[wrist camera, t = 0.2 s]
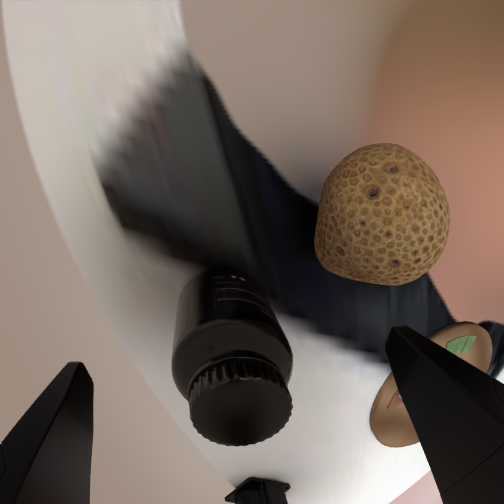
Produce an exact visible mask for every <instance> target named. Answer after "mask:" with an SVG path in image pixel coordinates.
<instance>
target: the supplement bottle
mask: <svg viewBox="0 0 504 504" xmlns="http://www.w3.org/2000/svg"><path fill="white" fill-rule="evenodd" d="M292 370H293V354H292V350H291V347H290V345H289V342H288V340H287V338H286V336H285V334H284V332H283V330H282V328H281V326H280V324H279V322H278V320H277V318H276V316H275V314H274V312H273V310H272V308H271V307H270V305H269V303H268V301H267V299H266V297H265V295H264V293H263V291H262V290H261V288H260V287H259V285H258V284H257V283H256V282H255V281H254V280H253V279H252V278H250V277H249V276H248V275H246V274H244V273H242V272H239V271H236V270H232V269H214V270H210V271H207V272H204V273H202V274H200V275H198V276H197V277H195V278H194V279H193V280H192V281H190V283H189V284H188V285H187V286H186V287H185V289H184V290H183V292H182V294H181V297H180V300H179V304H178V309H177V317H176V325H175V334H174V342H173V352H172V376H173V379H174V382H175V384H176V387H177V388H178V390H179V392H180V393H181V394H182V396H183V397H184V398H185V399H186V400H187V401H188V402H189V407H190V419H191V421H192V422H193V426H194V427H195V428H196V429H197V432H198V433H200V434H202V436H203V437H204V438H207V439H209V440H210V441H212V442H216V443H217V444H224V445H226V446H246V445H249V444H256V443H258V442H261V441H264V440H266V439H267V438H270V437H272V436H273V435H274V434H276V433H278V432H279V431H280V429H282V428H283V427H284V426H285V424H286V423H287V422H288V421H289V417H290V416H291V410H292V408H293V405H292V397H291V395H290V393H289V390H288V386H287V385H288V383H289V380H290V378H291V375H292Z"/></svg>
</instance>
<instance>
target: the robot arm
mask: <svg viewBox="0 0 504 504" xmlns="http://www.w3.org/2000/svg"><path fill="white" fill-rule="evenodd" d="M385 353H386V356H387V359H388V362H389V365H390V368H391V370H392V374H393V377H394V380H395V383H396V386H397V389H398V391H399V394H400V396H401V399H402V401H403V403H404V405H405V408H406V410H407V412H408V415H409V417H410V419H411V422H412V424H413V426H414V429H415V431H416V433H417V436H418V438H419V441H420V443H421V446H422V448H423V451H424V453H425V456H426V458H427V461H428V463H429V466H430V468H431V471H432V473H433V476H434V479H435V482H436V484H437V487H438V490H439V492H440V496H441V499H442V501H443V504H504V384H503V383H501V382H500V381H498V380H496V379H495V378H491V376H490V375H488V374H486V373H485V372H483V371H481V370H480V369H478V368H477V367H475V366H473V365H472V364H470V363H468V362H467V361H465V360H463V359H462V358H460V357H458V356H457V355H455V354H453V353H452V352H450V351H448V350H447V349H445V348H443V347H442V346H440V345H438V344H437V343H435V342H433V341H432V340H430V339H428V338H427V337H425V336H423V335H422V334H420V333H418V332H417V331H415V330H413V329H412V328H410V327H408V326H406V325H398V326H394V327H392V329H391V330H390V333H389V336H388V339H387V341H386V344H385ZM93 392H94V385H93V381H92V378H91V377H90V375H89V373H88V371H87V369H86V367H85V366H84V364H83V363H82V362H69V363H67V364H66V366H65V367H64V368H63V369H62V370H61V371H60V372H59V374H58V375H57V376H56V377H55V378H54V379H53V380H52V382H51V383H50V384H49V385H48V386H47V387H46V389H45V390H44V391H43V392H42V393H41V395H40V396H39V397H38V398H37V399H36V400H35V401H34V403H33V404H32V405H31V406H30V408H29V409H28V410H27V411H26V412H25V414H24V415H23V416H22V417H21V419H20V420H19V421H18V422H17V423H16V425H15V426H14V427H13V428H12V430H11V431H10V432H9V434H8V435H7V436H6V437H5V438H4V440H3V441H2V444H0V504H90V474H91V457H92V444H93V394H94V393H93ZM288 489H290V485H289V484H284V483H278V482H272V481H267V480H261V479H256V478H249V479H247V480H246V481H245V482H244V483H242V484H241V485H240V486H239V487H237V488H236V489H235V490H234V491H233V492H231V493H230V494H229V495H227V496H226V497H225V501H227V502H232V503H235V504H288V503H287V499H286V496H285V492H286V491H287V490H288Z"/></svg>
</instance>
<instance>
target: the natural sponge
mask: <svg viewBox="0 0 504 504" xmlns="http://www.w3.org/2000/svg"><path fill="white" fill-rule="evenodd" d="M449 224H450V215H449V206H448V202H447V198H446V195H445V193H444V190H443V188H442V186H441V184H440V182H439V180H438V178H437V176H436V174H435V173H434V171H433V170H432V169H431V168H430V167H429V165H428V164H426V162H424V161H423V160H422V159H421V158H420V157H419V156H417V155H416V154H415V153H413V152H411V151H410V150H408V149H406V148H404V147H402V146H399V145H396V144H389V143H381V144H372V145H369V146H365V147H362V148H359V149H357V150H356V151H354V152H352V153H351V154H349V155H348V156H347V157H345V158H344V159H343V160H342V161H341V162H340V163H339V164H338V165H337V166H336V167H335V168H334V170H333V171H332V172H331V173H330V175H329V176H328V178H327V180H326V181H325V184H324V187H323V190H322V193H321V200H320V204H319V210H318V219H317V224H316V231H315V239H314V247H315V252H316V256H317V258H318V260H319V262H320V263H321V264H322V266H323V267H324V268H326V269H327V270H328V271H330V272H332V273H334V274H336V275H339V276H342V277H345V278H349V279H354V280H357V281H363V282H368V283H374V284H382V285H402V284H405V283H409V282H411V281H413V280H415V279H417V278H419V277H421V276H422V275H423V274H424V273H426V272H427V271H428V270H429V269H430V268H431V267H432V266H433V265H434V264H435V263H436V261H437V260H438V259H439V257H440V255H441V254H442V252H443V250H444V247H445V244H446V241H447V238H448V232H449Z"/></svg>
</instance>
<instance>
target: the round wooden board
mask: <svg viewBox="0 0 504 504" xmlns="http://www.w3.org/2000/svg"><path fill="white" fill-rule="evenodd" d="M427 338H428V339H430V340H432V341H433V342H435V343H437V344H438V345H440V346H442V347H443V348H445V349H447V350H448V351H450V352H452V353H453V354H455V355H457V356H458V357H460V358H462V359H463V360H465V361H467V362H468V363H470V364H472V365H473V366H475V367H477V368H478V369H480V370H481V371H483V372H485V373H486V374H487V371H488V368H489V365H490V361H491V356H492V342H491V338H490V336H489V334H488V333H487V331H486V330H484V329H483V328H482V327H480V326H479V325H477V324H476V323H473V322H468V321H464V322H457V323H453V324H451V325H448V326H446V327H444V328H442V329H440V330H438V331H436V332H435V333H433V334H432V335H430V336H429V337H427ZM399 395H400V394H399V391H398V389H397V386H396V383H395V380H394V377H393V374H392V373H391V374H390V375H389V377H388V378H387V379H386V381H385V383H384V384H383V386H382V387H381V389H380V391H379V393H378V394H377V396H376V399H375V401H374V403H373V406H372V409H371V414H370V426H371V430H372V432H373V433H374V435H375V437H376V438H377V440H378V441H379V442H380V443H381V444H383V445H385V446H388V447H404V446H409V445H412V444H415V443H418V442H420V441H419V438H418V436H417V433H416V431H415V429H414V426H413V424H412V422H411V419H410V417H409V415H408V412H407V410H406V408H405V405H404V403H403V402H402V399H401V398H400V397H399Z"/></svg>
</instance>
